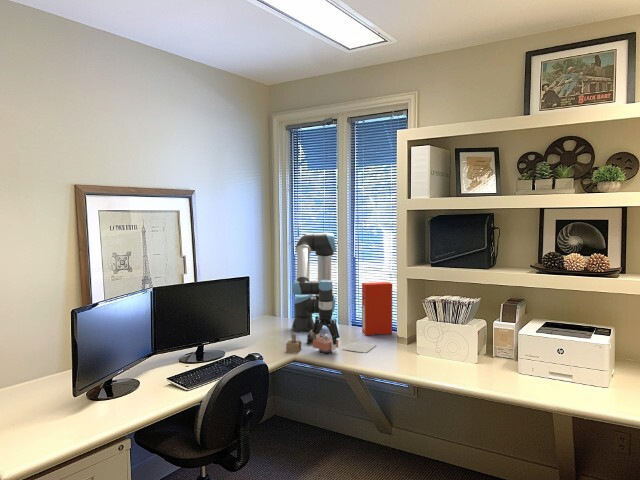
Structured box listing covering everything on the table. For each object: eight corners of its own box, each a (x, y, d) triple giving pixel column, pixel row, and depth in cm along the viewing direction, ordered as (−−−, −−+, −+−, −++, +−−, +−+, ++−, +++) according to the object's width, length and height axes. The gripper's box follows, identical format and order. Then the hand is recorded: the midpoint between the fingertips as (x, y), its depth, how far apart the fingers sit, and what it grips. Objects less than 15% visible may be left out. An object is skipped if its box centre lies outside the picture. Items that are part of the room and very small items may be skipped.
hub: (320, 350, 267) (320, 332, 266) (332, 350, 266) (332, 333, 265) (318, 354, 260) (318, 336, 259) (330, 354, 259) (330, 336, 258)
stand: (289, 348, 270) (289, 331, 270) (301, 349, 269) (301, 332, 268) (286, 352, 263) (286, 334, 263) (298, 353, 262) (298, 335, 262)
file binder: (361, 332, 305) (362, 282, 303) (387, 331, 308) (388, 281, 306) (365, 335, 297) (365, 284, 295) (392, 334, 300) (392, 283, 298)
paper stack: (392, 348, 272) (392, 347, 272) (376, 360, 250) (376, 359, 250) (354, 343, 282) (354, 341, 282) (336, 354, 260) (336, 353, 260)
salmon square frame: (325, 343, 270) (325, 336, 270) (338, 347, 263) (338, 339, 262) (312, 347, 263) (312, 339, 263) (325, 351, 256) (325, 343, 255)
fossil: (323, 345, 275) (315, 329, 275) (310, 352, 277) (301, 336, 276) (325, 339, 286) (317, 324, 286) (312, 346, 287) (304, 331, 287)
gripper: (305, 306, 267) (306, 344, 269) (336, 313, 250) (336, 354, 252) (315, 304, 272) (315, 342, 274) (346, 310, 255) (346, 350, 257)
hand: (325, 347), depth 263 cm, fingers open, 11 cm apart
